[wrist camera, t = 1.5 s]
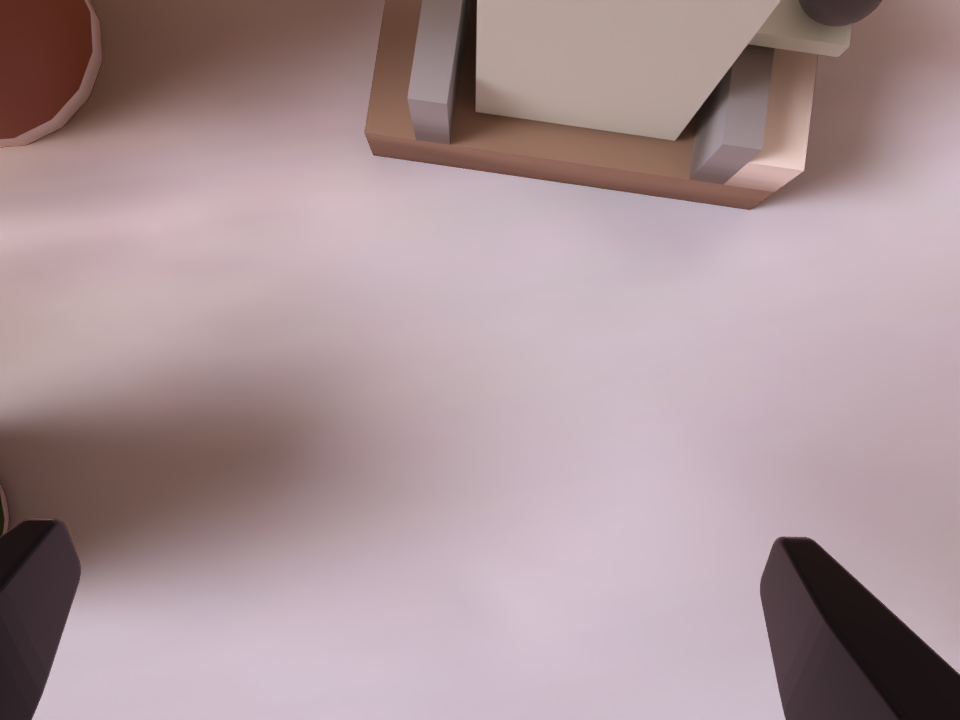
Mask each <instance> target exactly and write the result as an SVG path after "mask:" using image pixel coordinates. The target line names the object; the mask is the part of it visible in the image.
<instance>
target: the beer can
mask: <svg viewBox="0 0 960 720" xmlns="http://www.w3.org/2000/svg"><path fill="white" fill-rule="evenodd" d="M8 522H9V513H8V507H7V502H6V496H5V492H4V490H3V489H2V487H1V485H0V536H2V535H3V534H4V533H6V532H7V529H8Z"/></svg>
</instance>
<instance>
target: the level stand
mask: <svg viewBox="0 0 960 720" xmlns="http://www.w3.org/2000/svg"><path fill="white" fill-rule="evenodd" d="M476 42H477V0H385V6H384V12H383V19H382V25H381V32H380V38H379V44H378V51H377V57H376V63H375V70H374V76H373V82H372V89H371V95H370V101H369V108H368V114H367V120H366V127H365V135H366V137H367V140H368V143H369V145H370V148H371V150H372V153H373V155H376V156H383V157H390V158H396V159H403V160H410V161H417V162H424V163H431V164H438V165H445V166H452V167H458V168H465V169H472V170H479V171H486V172H493V173H500V174H507V175H514V176H520V177H527V178H534V179H541V180H548V181H555V182H562V183H569V184H576V185H582V186H589V187H596V188H603V189H610V190H617V191H624V192H631V193H638V194H645V195H651V196H658V197H665V198H672V199H679V200H686V201H693V202H700V203H707V204H713V205H720V206H727V207H734V208H741V209H748V210H750V209H752V208H753V207H755V206H756V205H757V204H759V203H760V202H762V201H763V200H764V199H766V198H767V197H768V196H770V195H771V194H773V193H774V192H775V191H777V190H778V189H780V188H781V187H782V186H784V185H785V184H786V183H788V182H789V181H791V180H792V179H793V178H795V177H796V176H798V175H799V174H800V173H802V172H803V171H804V168H805V160H806V151H807V143H808V135H809V126H810V118H811V109H812V101H813V92H814V84H815V76H816V67H817V59H818V54H812V53H805V52H798V51H791V50H784V49H778V48H771V47H764V46H757V45H750V44H748V45H747V46H746V47H745V49H744V50H743V51H742V53H741V54H740V55H739V57H738V58H737V59H736V61H735V62H734V63H733V65H732V66H731V67H730V69H729V70H728V71H727V72H726V74H725V75H724V76H723V78H722V79H721V80H720V82H719V83H718V84H717V86H716V87H715V88H714V90H713V91H712V92H711V94H710V95H709V96H708V98H707V99H706V100H705V102H704V103H703V104H702V106H701V107H700V108H699V110H698V111H697V112H696V114H695V115H694V116H693V118H692V119H691V120H690V122H689V123H688V124H687V126H686V127H685V128H684V129H683V131H682V132H681V133H680V135H679V136H678V137H677V139H676V140H675V141H673V140H666V139H659V138H652V137H645V136H639V135H632V134H625V133H618V132H611V131H604V130H597V129H590V128H583V127H577V126H570V125H563V124H556V123H549V122H542V121H535V120H528V119H521V118H515V117H508V116H501V115H494V114H487V113H480V112H476Z"/></svg>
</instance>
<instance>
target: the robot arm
mask: <svg viewBox="0 0 960 720" xmlns="http://www.w3.org/2000/svg"><path fill="white" fill-rule="evenodd" d="M80 574H81V566H80V561H79V558H78V555H77V553H76V550H75V548H74V545H73V543H72V540H71V538H70V535H69V532H68V530H67V527H66V525H65V524H64V523H63V522H62V521H61V520H59V519H46V518H30V519H26V520H24V521H22V522H20V523H19V524H17V525H16V526H14V527H13V528H12V529H10V530H9V531H7V532H6V533H4V534H3V535H2V536H0V720H32V718H33V715H34V713H35V711H36V708H37V706H38V703H39V701H40V699H41V696H42V693H43V691H44V688H45V685H46V682H47V679H48V677H49V674H50V670H51V667H52V664H53V661H54V658H55V655H56V652H57V649H58V646H59V643H60V639H61V636H62V633H63V630H64V627H65V624H66V621H67V618H68V615H69V612H70V608H71V605H72V602H73V599H74V596H75V593H76V590H77V587H78V584H79V580H80ZM760 595H761V601H762V606H763V611H764V616H765V621H766V627H767V632H768V637H769V642H770V647H771V652H772V657H773V662H774V667H775V672H776V677H777V683H778V688H779V693H780V697H781V702H782V706H783V711H784V715H785V718H786V720H960V674H959V673H958V672H956V671H955V670H954V669H953V668H952V667H951V666H950V665H949V664H948V663H947V662H946V661H945V660H943V659H942V658H941V657H940V656H939V655H938V654H937V653H936V652H935V651H934V650H933V649H932V648H930V647H929V646H928V645H927V644H926V643H925V642H924V641H923V640H922V639H921V638H920V637H919V636H917V635H916V634H915V633H914V632H913V631H912V630H911V629H910V628H909V627H908V626H907V625H905V624H904V623H903V622H902V621H901V620H900V619H899V618H898V617H897V616H896V615H895V614H894V613H892V612H891V611H890V610H889V609H888V608H887V607H886V606H885V605H884V604H883V603H882V602H881V601H879V600H878V599H877V598H876V597H875V596H874V595H873V594H872V593H871V592H870V591H869V590H867V589H866V588H865V587H864V586H863V585H862V584H861V583H860V582H859V581H858V580H857V579H856V578H854V577H853V576H852V575H851V574H850V573H849V572H848V571H847V570H846V569H845V568H844V567H843V566H841V565H840V564H839V563H838V562H837V561H836V560H835V559H834V558H833V557H832V556H831V555H829V554H828V553H827V552H826V551H825V550H824V549H823V548H822V547H821V546H820V545H819V544H818V543H816V542H815V541H814V540H812V539H810V538H807V537H779V538H777V539H776V540H775V542H774V544H773V546H772V549H771V552H770V555H769V557H768V560H767V563H766V566H765V569H764V572H763V575H762V578H761V583H760Z"/></svg>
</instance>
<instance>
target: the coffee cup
mask: <svg viewBox="0 0 960 720" xmlns="http://www.w3.org/2000/svg"><path fill="white" fill-rule="evenodd" d="M101 63H102V45H101V28H100V21H99V19H98V17H97V15H96V13H95V11H94V9H93V7H92V5H91V3H90V1H89V0H0V147H10V146H22V145H27V144H29V143H31V142H34V141H36V140H38V139H40V138H42V137H44V136H46V135H48V134H50V133H52V132H54V131H56V130H58V129H60V128H62V127H63V126H64V125H65V124H66V123H67V122H68V120H69V119H70V118H71V117H72V116H73V115H74V114H75V113H76V112H77V110H78V109H79V108H80V107H81V106H82V105H83V104H84V103H85V102H86V100H87V99H88V98H89V97H90V94H91V91H92V88H93V85H94V83H95V80H96V77H97V74H98V72H99V69H100V66H101Z"/></svg>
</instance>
